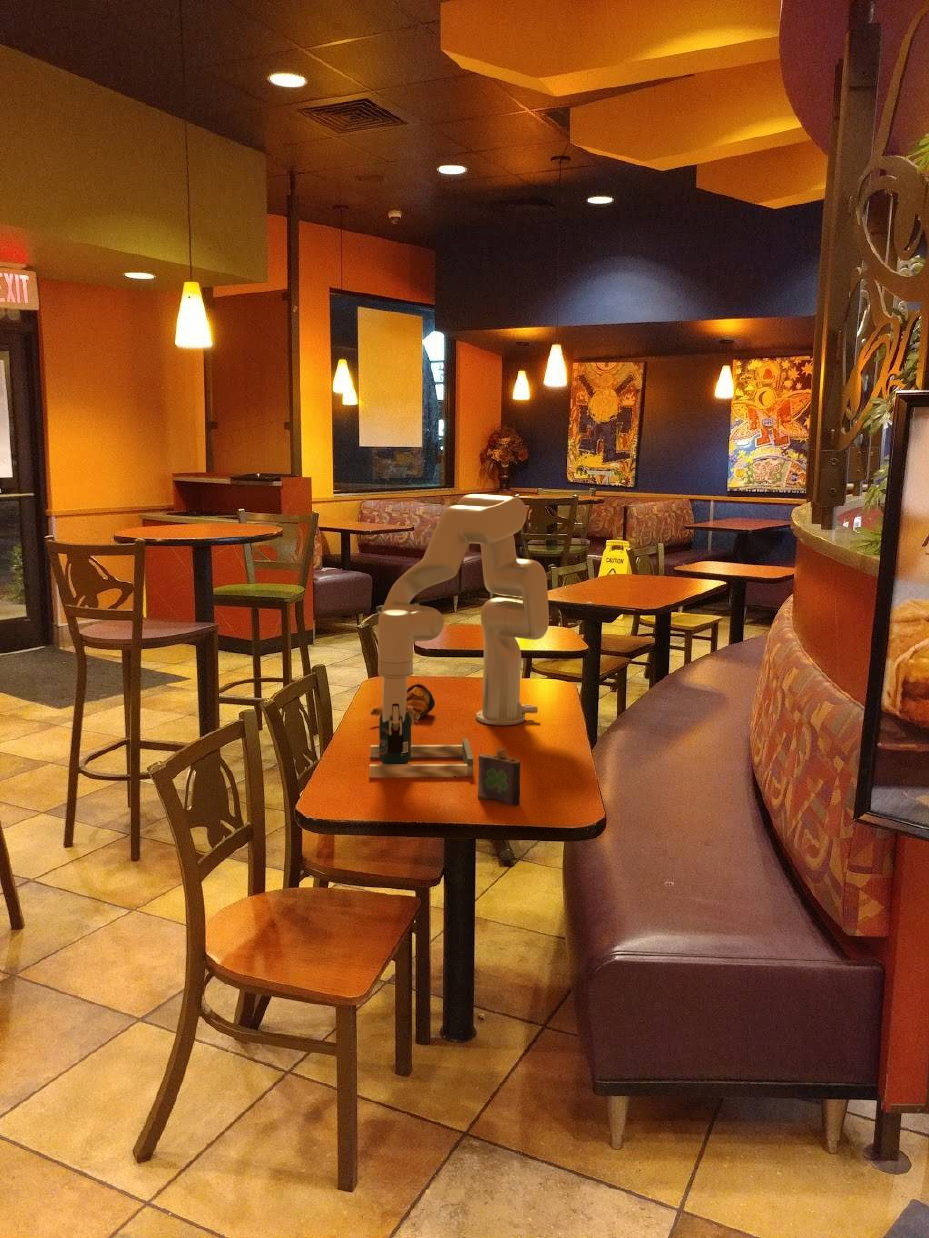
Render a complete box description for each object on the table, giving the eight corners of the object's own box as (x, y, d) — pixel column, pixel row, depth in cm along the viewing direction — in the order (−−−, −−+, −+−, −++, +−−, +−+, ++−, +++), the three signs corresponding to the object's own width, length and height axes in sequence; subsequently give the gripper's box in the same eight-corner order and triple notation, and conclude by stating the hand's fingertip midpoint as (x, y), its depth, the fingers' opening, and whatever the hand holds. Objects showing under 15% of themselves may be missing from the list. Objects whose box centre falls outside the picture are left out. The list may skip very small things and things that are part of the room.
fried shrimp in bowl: (448, 698, 252) (405, 689, 238) (427, 734, 254) (383, 727, 240) (426, 679, 258) (383, 669, 243) (406, 714, 259) (361, 706, 245)
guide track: (467, 755, 222) (467, 738, 221) (472, 776, 208) (473, 758, 207) (370, 755, 220) (370, 738, 219) (369, 777, 206) (369, 759, 205)
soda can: (373, 761, 214) (373, 709, 212) (398, 755, 218) (398, 703, 216) (391, 770, 209) (391, 716, 207) (417, 763, 213) (417, 711, 211)
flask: (475, 797, 196) (476, 746, 194) (482, 793, 198) (484, 743, 196) (516, 807, 191) (518, 755, 189) (522, 803, 194) (524, 751, 192)
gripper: (378, 658, 218) (378, 734, 221) (377, 677, 201) (377, 760, 204) (412, 658, 218) (411, 734, 222) (414, 677, 201) (413, 759, 205)
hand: (395, 746), depth 213 cm, fingers closed on soda can, 7 cm apart
